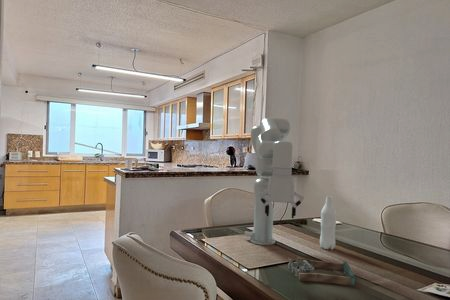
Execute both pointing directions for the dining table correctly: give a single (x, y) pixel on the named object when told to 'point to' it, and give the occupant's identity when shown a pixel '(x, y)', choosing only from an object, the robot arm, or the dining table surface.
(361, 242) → the dining table surface
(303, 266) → the egg carton
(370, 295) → the dining table surface
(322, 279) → the guide
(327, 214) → the water bottle
